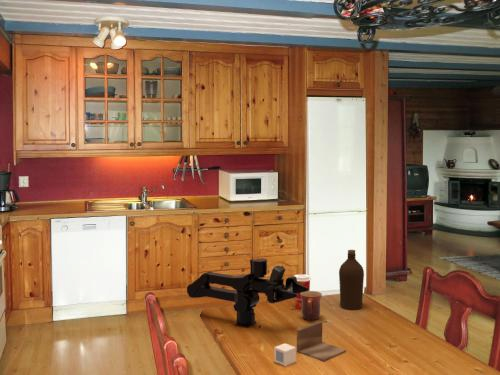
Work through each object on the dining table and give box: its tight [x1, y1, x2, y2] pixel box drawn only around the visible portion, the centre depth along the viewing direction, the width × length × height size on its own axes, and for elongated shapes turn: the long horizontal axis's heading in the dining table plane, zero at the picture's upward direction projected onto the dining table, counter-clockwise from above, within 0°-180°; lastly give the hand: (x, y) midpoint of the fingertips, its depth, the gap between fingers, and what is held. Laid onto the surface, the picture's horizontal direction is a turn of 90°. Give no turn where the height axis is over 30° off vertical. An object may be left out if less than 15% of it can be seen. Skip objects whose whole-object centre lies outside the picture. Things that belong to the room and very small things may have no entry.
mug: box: [300, 290, 323, 321], centre depth 220 cm, size 12×9×10 cm
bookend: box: [296, 320, 347, 363], centre depth 187 cm, size 12×12×8 cm
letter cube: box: [273, 342, 297, 367], centre depth 179 cm, size 5×5×5 cm
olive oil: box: [338, 249, 365, 311], centre depth 235 cm, size 11×11×25 cm
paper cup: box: [294, 273, 312, 311], centre depth 235 cm, size 8×8×14 cm
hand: (302, 292), depth 201 cm, fingers open, 9 cm apart
